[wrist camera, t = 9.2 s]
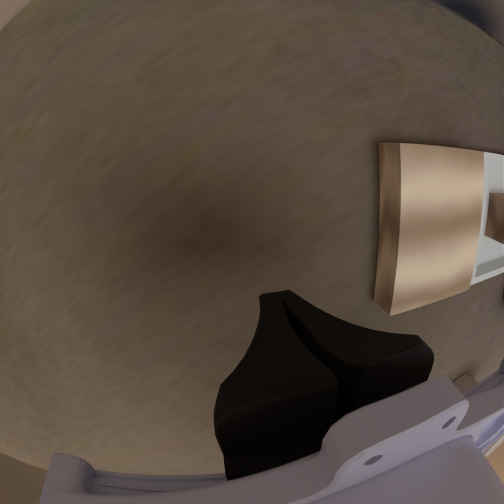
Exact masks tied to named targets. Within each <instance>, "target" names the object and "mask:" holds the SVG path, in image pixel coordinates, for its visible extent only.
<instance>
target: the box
mask: <svg viewBox="0 0 504 504" xmlns="http://www.w3.org/2000/svg"><path fill="white" fill-rule="evenodd" d="M489 193H504V155H500V154H494V153H488V152H484V188H483V204H482V216H481V225H480V233H479V240H478V247H477V253H476V259H475V264H474V269H473V274H472V279H471V283H470V285H472V284H475V283H478V282H480V281H483V280H485V279H488V278H490V277H493V276H495V275H498V274H500V273H503V272H504V244H502V243H500V242H497V241H495V240H493V239H491V238H489V237H487V236H485V230H486V223H487V214H488V205H489Z"/></svg>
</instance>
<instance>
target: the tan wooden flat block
mask: <svg viewBox="0 0 504 504" xmlns="http://www.w3.org/2000/svg"><path fill="white" fill-rule="evenodd" d="M378 152H379V182H380V211H379V241H378V258H377V271H376V282H375V292H374V301H375V302H376V303H377V304H378V305H379V306H380V307H381V308H382V309H383V310H384V311H385V312H386V313H387V314H388V315H389V316H392V315H395V314H398V313H402V312H405V311H408V310H412V309H415V308H418V307H421V306H424V305H427V304H430V303H433V302H436V301H439V300H442V299H445V298H447V297H450V296H453V295H456V294H458V293H461V292H464V291H466V290H469V288H470V283H471V279H472V274H473V269H474V264H475V259H476V253H477V247H478V240H479V233H480V225H481V216H482V204H483V188H484V152H482V151H476V150H469V149H461V148H453V147H444V146H434V145H422V144H408V143H378Z"/></svg>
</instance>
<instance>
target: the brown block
mask: <svg viewBox="0 0 504 504" xmlns="http://www.w3.org/2000/svg"><path fill="white" fill-rule="evenodd" d="M485 236H487V237H489V238H491V239H493V240H495V241H497V242H500V243H502V244H504V193H489V205H488V214H487V223H486V230H485Z"/></svg>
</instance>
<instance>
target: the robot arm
mask: <svg viewBox="0 0 504 504" xmlns="http://www.w3.org/2000/svg"><path fill="white" fill-rule="evenodd" d="M259 301H260V317H259V322H258V325H257V329H256V332H255V335H254V338H253V340H252V342H251V344H250V346H249V348H248V350H247V352H246V354H245V356H244V357H243V359H242V360H241V361H240V363H239V364H238V366H237V367H236V368H235V370H234V371H233V372H232V373H231V374H230V375H229V376H228V377H227V378H226V379H225V381H224V382H223V383H222V384H221V385H220V388H219V392H218V395H217V399H216V403H215V409H214V427H215V435H216V438H217V441H218V443H219V446H220V448H221V451H222V453H223V456H224V465H225V473H218V474H203V475H142V474H128V473H118V472H109V471H101V470H95V469H94V468H93V467H92V466H91V465H90V464H89V463H88V462H87V461H86V460H84V459H82V458H79V457H76V456H71V455H65V454H60V453H53V455H52V459H51V462H50V465H49V468H48V472H47V475H46V479H45V483H44V486H43V490H42V494H41V499H40V503H39V504H504V484H503V482H502V480H501V479H500V478H499V476H498V475H497V473H496V472H495V470H494V469H493V467H492V466H491V465H490V463H489V462H488V460H487V459H486V458H485V456H484V455H483V453H482V452H483V451H485V450H486V449H487V448H488V447H489V446H490V445H491V444H492V443H494V442H495V441H496V440H497V439H498V438H499V437H500V436H501V435H502V434H503V433H504V359H503V360H502V362H501V364H500V367H499V369H498V370H497V371H495V372H494V373H493V374H491V375H490V376H488V377H487V378H486V379H484V380H483V381H481V382H480V383H478V384H477V385H475V386H474V387H472V388H471V389H469V390H468V391H466V392H464V393H463V394H462V393H461V392H460V391H459V390H458V389H457V387H456V386H455V385H454V384H453V383H452V382H451V381H450V380H449V379H448V378H447V377H446V376H440V377H436V378H432V379H429V380H427V379H428V377H429V374H430V372H431V369H432V366H433V362H434V353H433V352H432V350H431V348H430V347H429V346H428V345H427V344H426V343H425V342H424V341H423V340H422V339H421V338H420V337H419V336H418V335H410V334H395V333H388V332H382V331H377V330H372V329H368V328H364V327H361V326H357V325H354V324H351V323H349V322H346V321H343V320H341V319H338V318H336V317H334V316H332V315H330V314H328V313H326V312H324V311H322V310H320V309H319V308H317V307H315V306H313V305H312V304H310V303H309V302H307V301H305V300H304V299H302V298H301V297H299V296H298V295H296V294H295V293H293V292H292V291H290V290H285V291H279V292H273V293H266V294H261V295H260V297H259Z"/></svg>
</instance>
